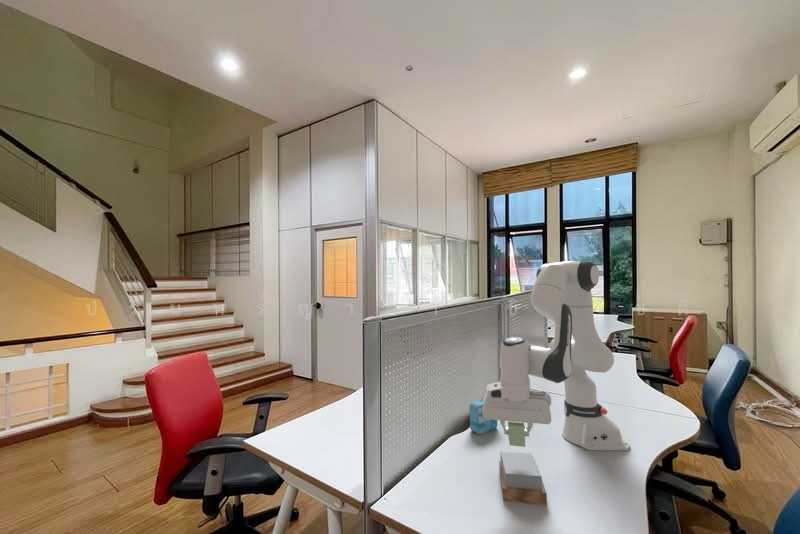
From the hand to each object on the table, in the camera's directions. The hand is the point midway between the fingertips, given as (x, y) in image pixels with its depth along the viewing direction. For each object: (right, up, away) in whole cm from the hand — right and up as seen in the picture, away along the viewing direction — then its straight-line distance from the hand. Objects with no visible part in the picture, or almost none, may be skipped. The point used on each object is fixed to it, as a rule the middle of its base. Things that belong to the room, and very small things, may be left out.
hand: (516, 434), depth 101 cm
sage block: (0, -2, 0) cm, 2 cm away
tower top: (+1, -13, -1) cm, 13 cm away
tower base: (+1, -17, -1) cm, 17 cm away
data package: (-1, -17, +37) cm, 41 cm away
